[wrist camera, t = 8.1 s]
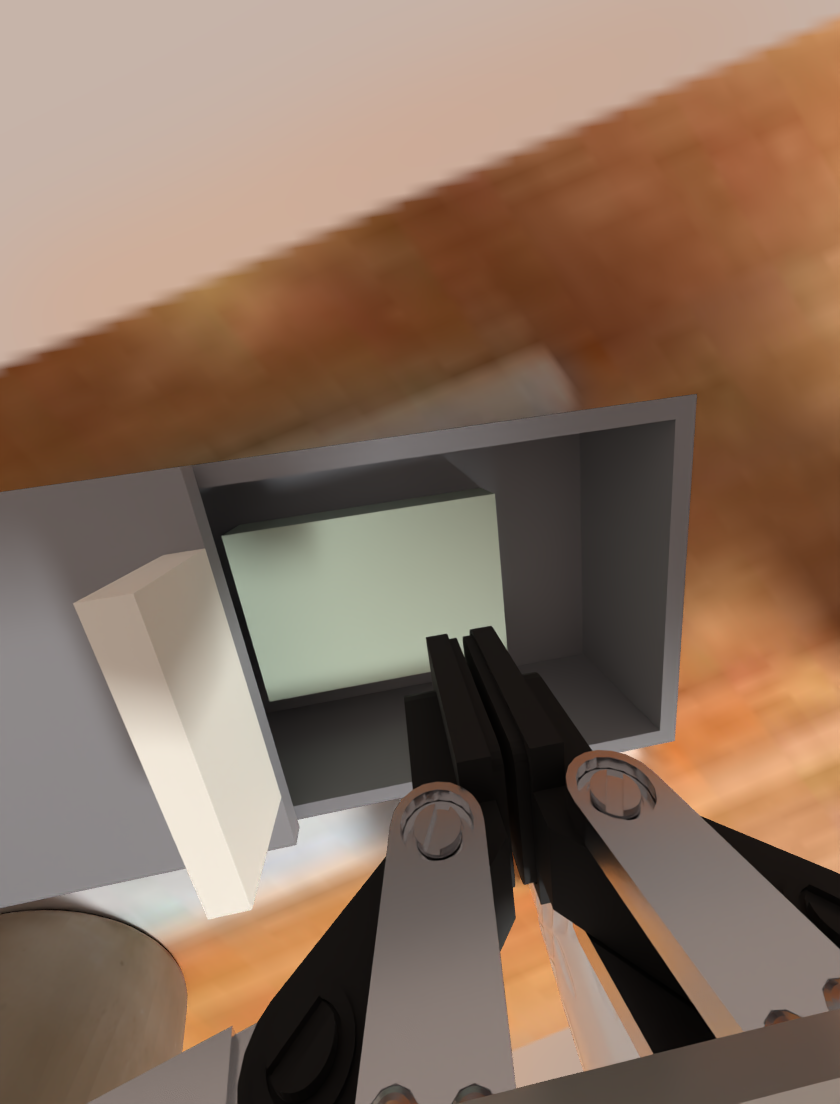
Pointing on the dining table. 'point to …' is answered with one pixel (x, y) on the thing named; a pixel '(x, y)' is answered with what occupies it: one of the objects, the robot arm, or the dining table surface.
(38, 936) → the plant pot
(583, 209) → the dining table surface
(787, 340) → the dining table surface
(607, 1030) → the white cup
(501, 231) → the dining table surface
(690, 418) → the box
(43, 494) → the mailer lid
